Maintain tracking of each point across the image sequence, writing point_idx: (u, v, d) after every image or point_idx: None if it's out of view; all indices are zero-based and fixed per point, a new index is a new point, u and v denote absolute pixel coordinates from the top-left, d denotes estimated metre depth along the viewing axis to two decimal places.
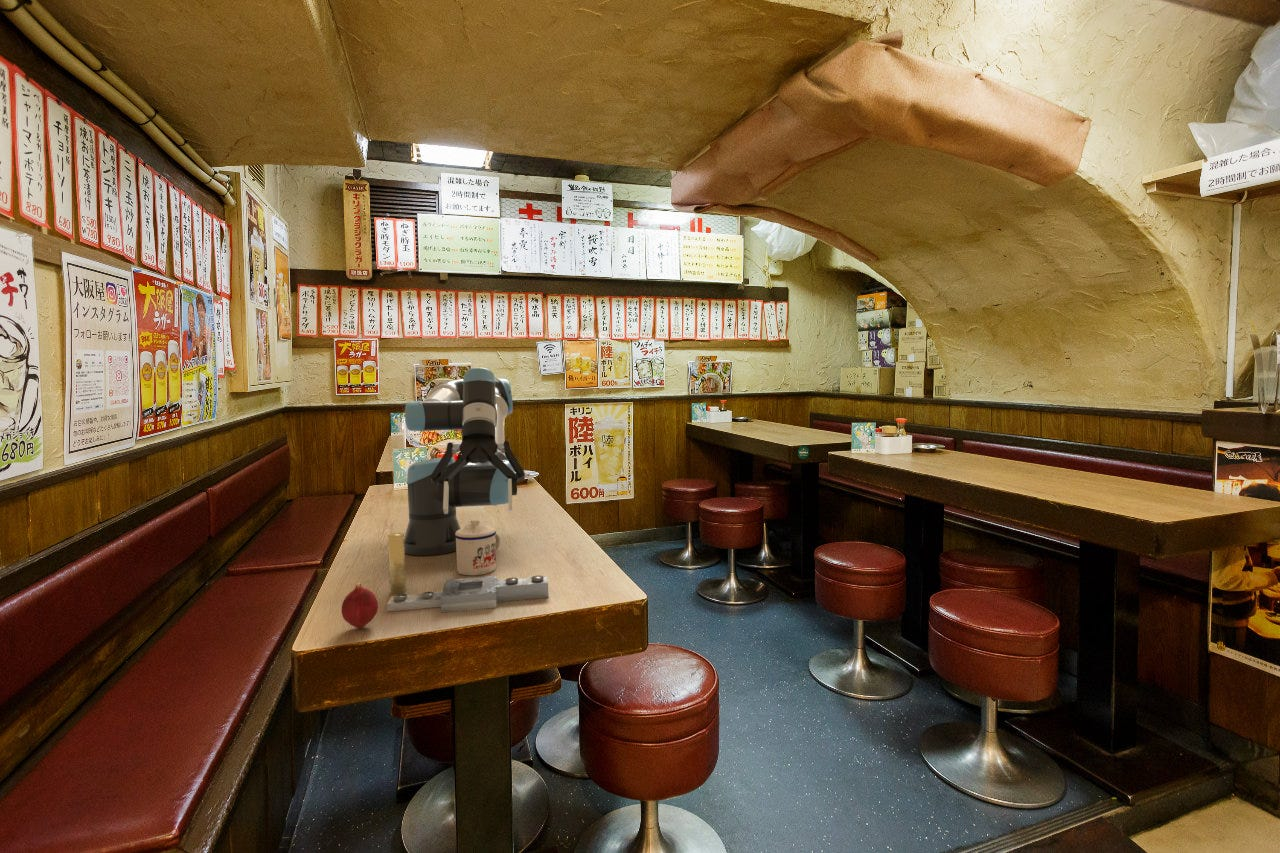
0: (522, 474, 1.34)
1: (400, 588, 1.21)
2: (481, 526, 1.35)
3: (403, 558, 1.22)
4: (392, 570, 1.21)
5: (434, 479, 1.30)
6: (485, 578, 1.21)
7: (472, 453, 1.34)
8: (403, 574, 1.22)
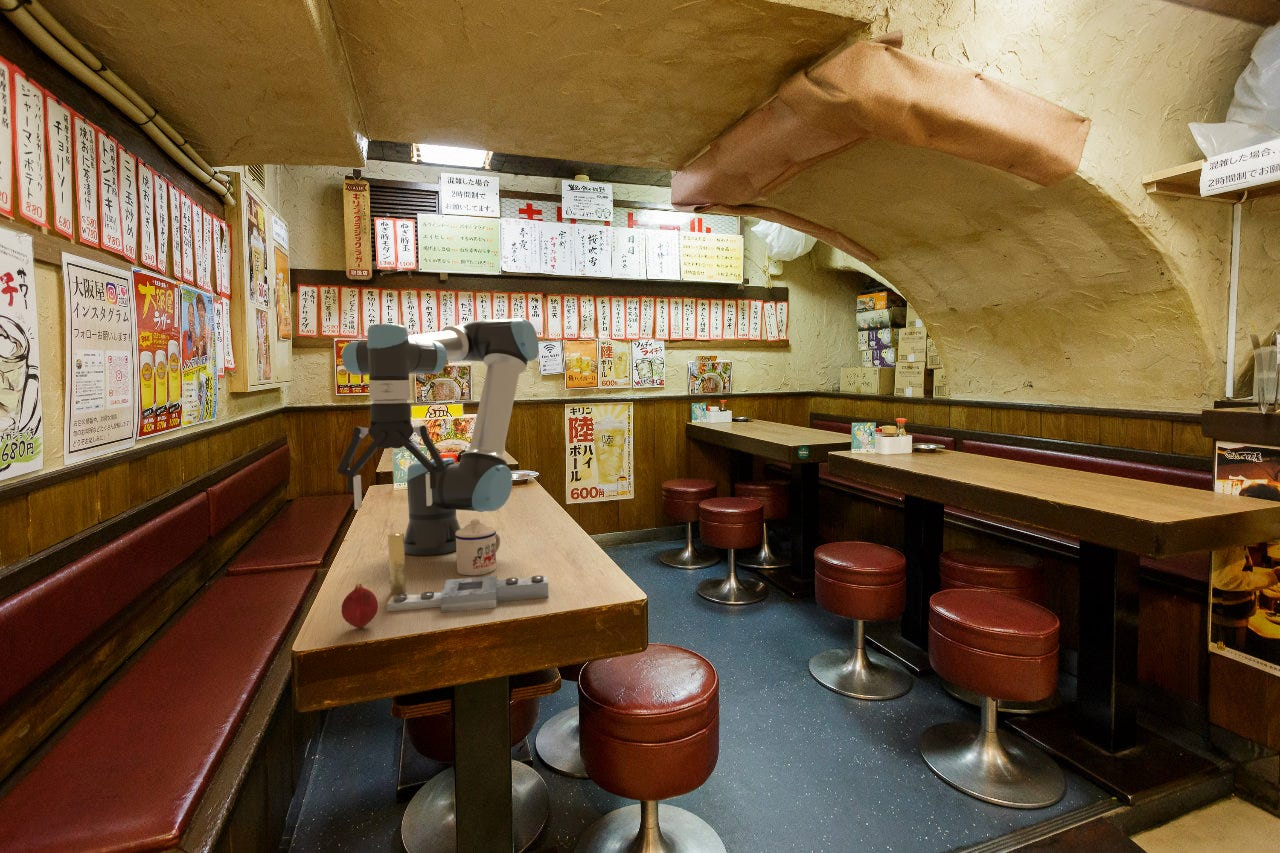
0: (441, 468, 1.21)
1: (400, 588, 1.21)
2: (481, 526, 1.35)
3: (403, 558, 1.22)
4: (392, 570, 1.21)
5: (342, 473, 1.18)
6: (485, 578, 1.21)
7: (383, 441, 1.19)
8: (403, 574, 1.22)
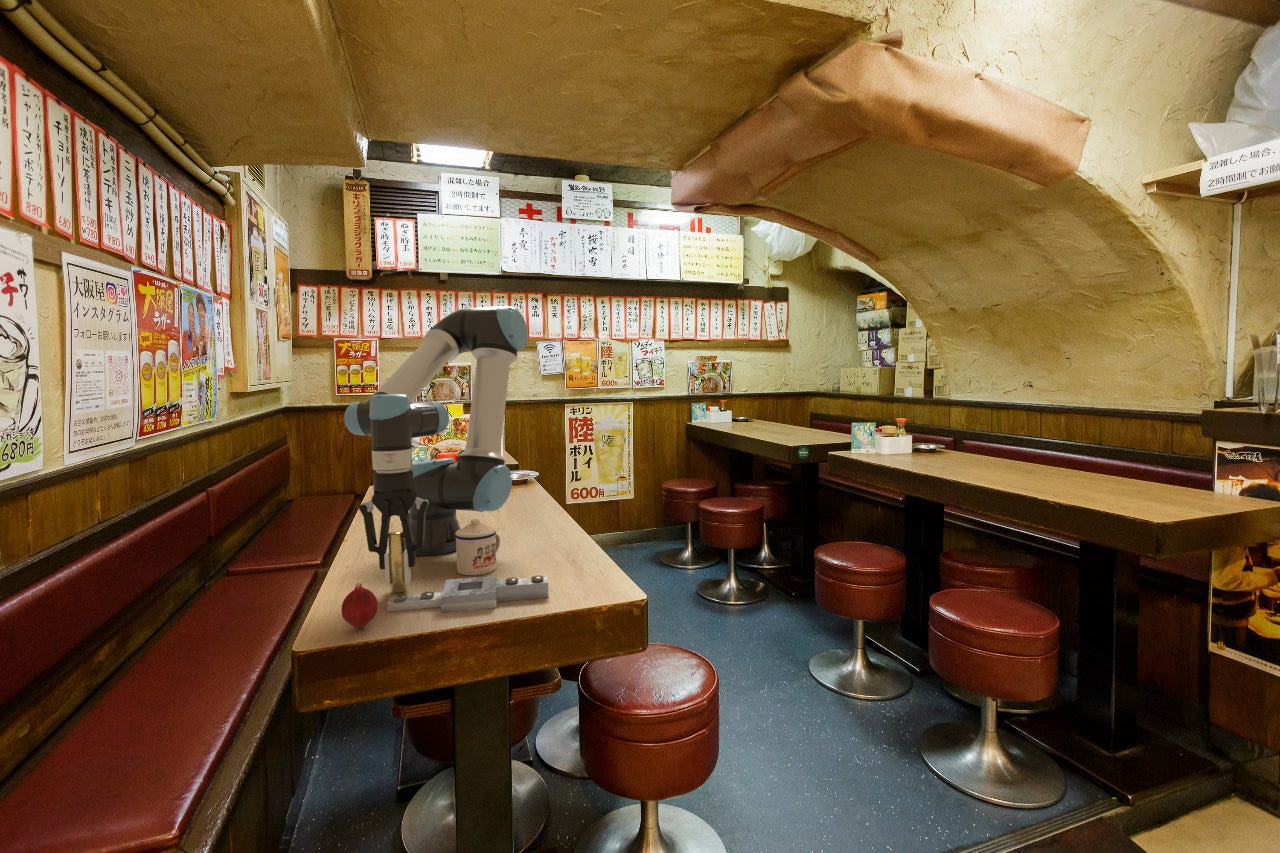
0: (418, 547, 1.22)
1: (401, 586, 1.21)
2: (481, 526, 1.35)
3: (403, 556, 1.22)
4: (392, 569, 1.21)
5: (373, 551, 1.20)
6: (485, 578, 1.21)
7: (390, 508, 1.20)
8: (403, 572, 1.22)
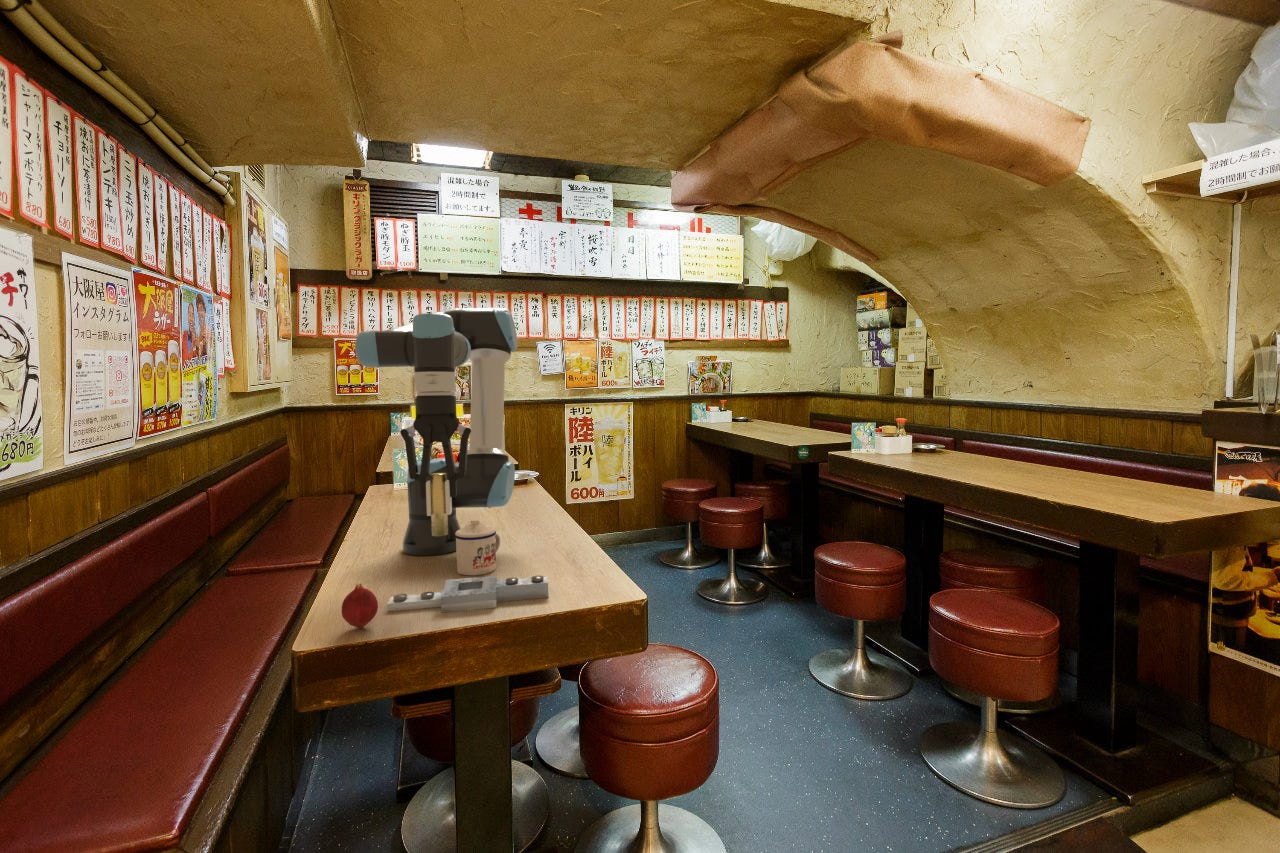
0: (460, 476, 1.16)
1: (442, 530, 1.16)
2: (481, 526, 1.35)
3: (445, 499, 1.16)
4: (434, 511, 1.15)
5: (414, 478, 1.15)
6: (485, 578, 1.21)
7: (433, 434, 1.15)
8: (445, 515, 1.16)
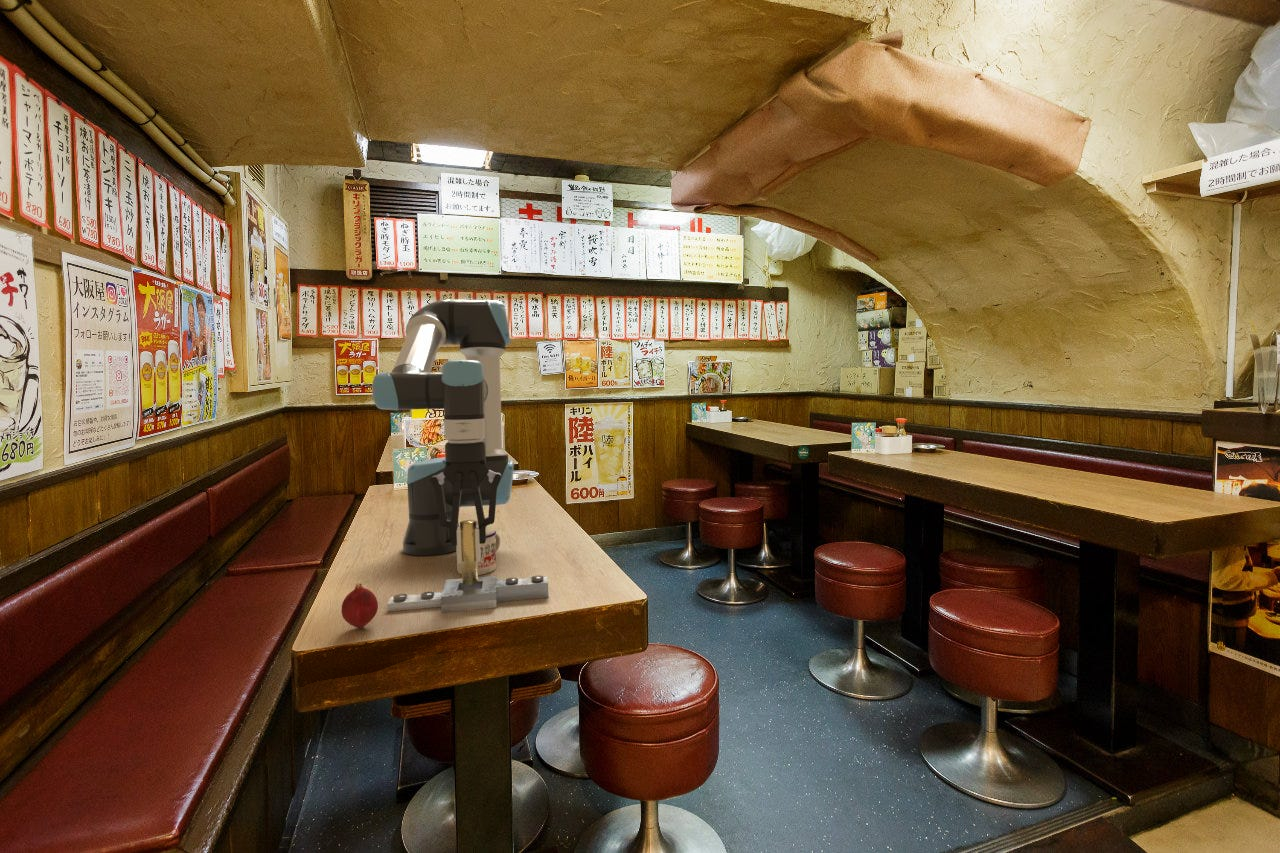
0: (490, 522, 1.15)
1: (473, 578, 1.15)
2: None
3: None
4: (465, 559, 1.15)
5: (445, 526, 1.14)
6: (485, 578, 1.21)
7: (463, 481, 1.14)
8: (476, 563, 1.16)
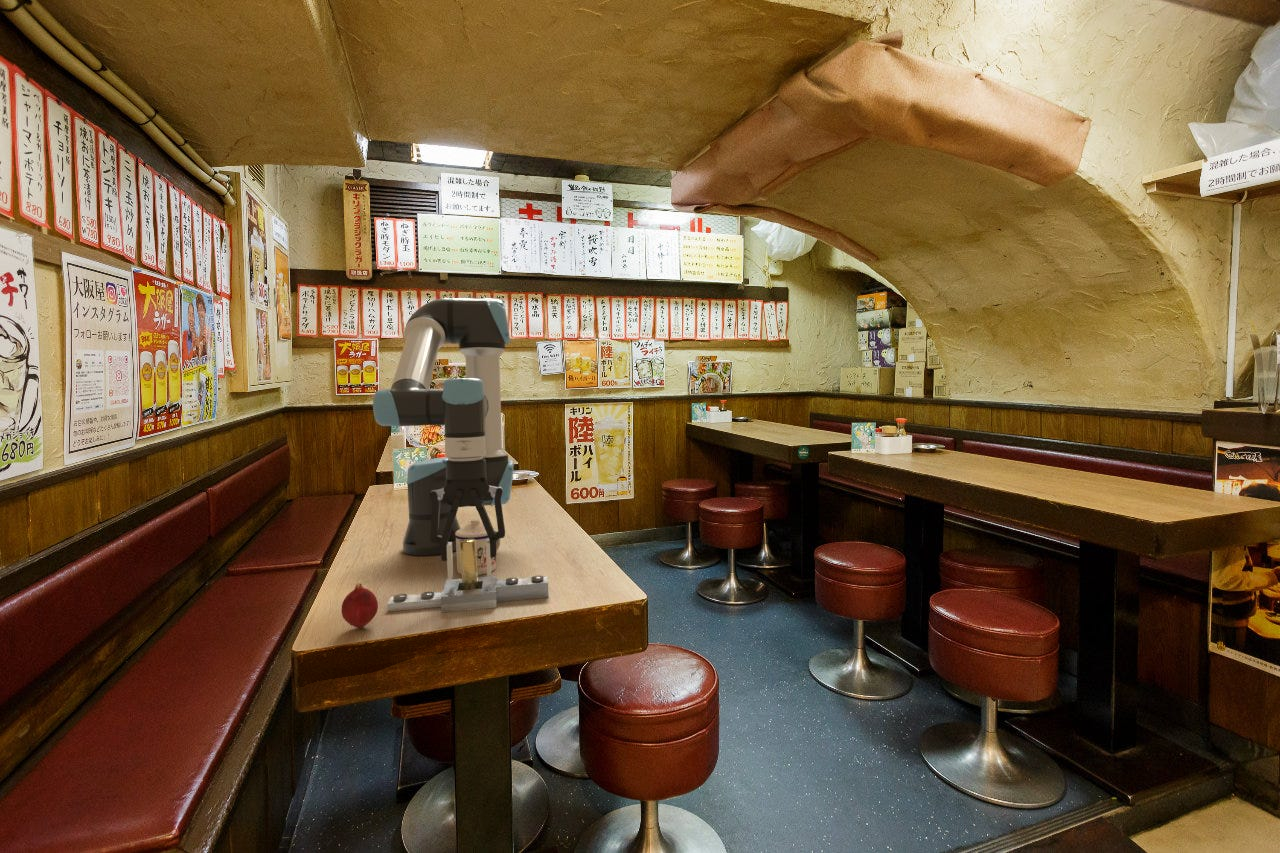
0: (501, 536, 1.16)
1: None
2: (481, 526, 1.35)
3: (476, 565, 1.16)
4: (465, 578, 1.15)
5: (435, 541, 1.14)
6: (485, 578, 1.21)
7: (462, 499, 1.14)
8: (476, 582, 1.16)
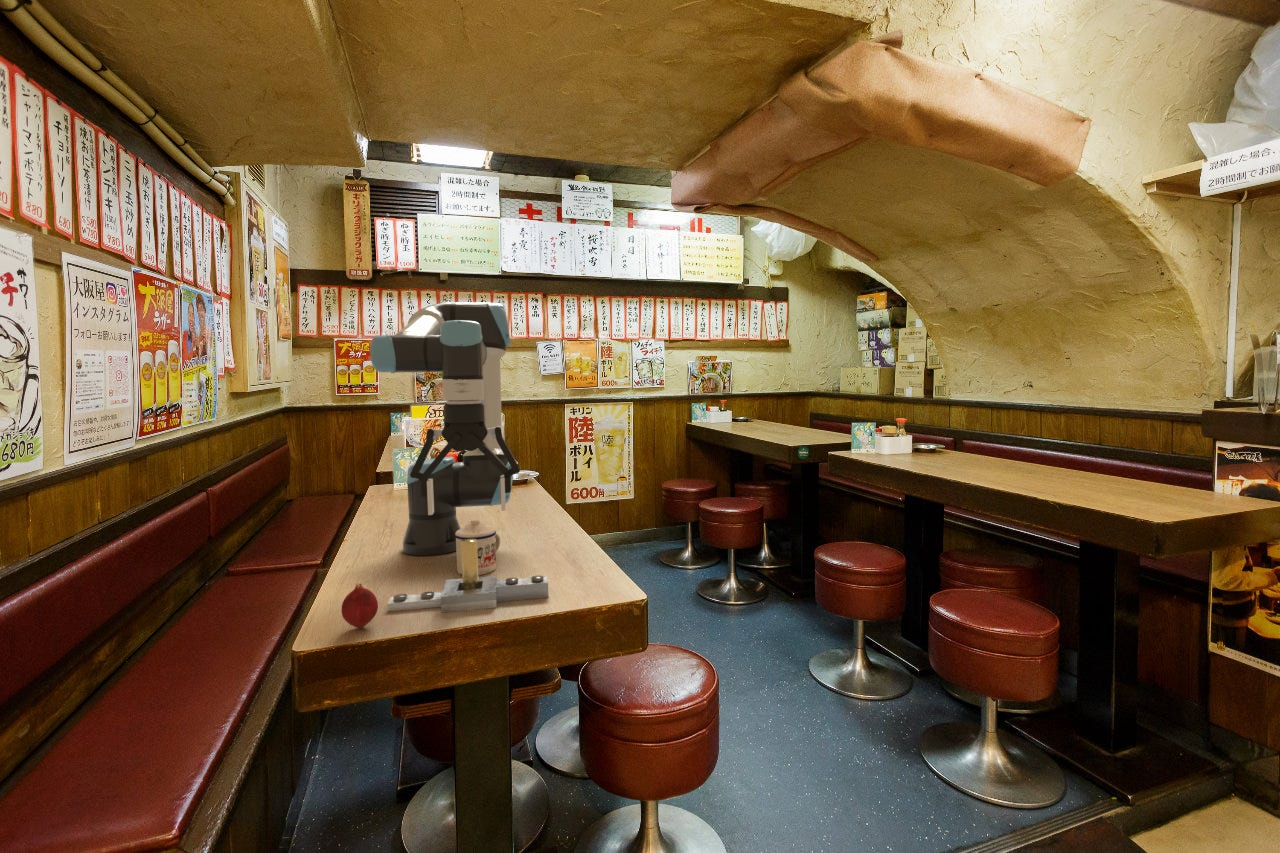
0: (517, 472, 1.16)
1: None
2: (481, 526, 1.35)
3: (477, 565, 1.16)
4: (466, 578, 1.15)
5: (415, 477, 1.12)
6: (485, 578, 1.21)
7: (457, 444, 1.13)
8: (477, 582, 1.16)
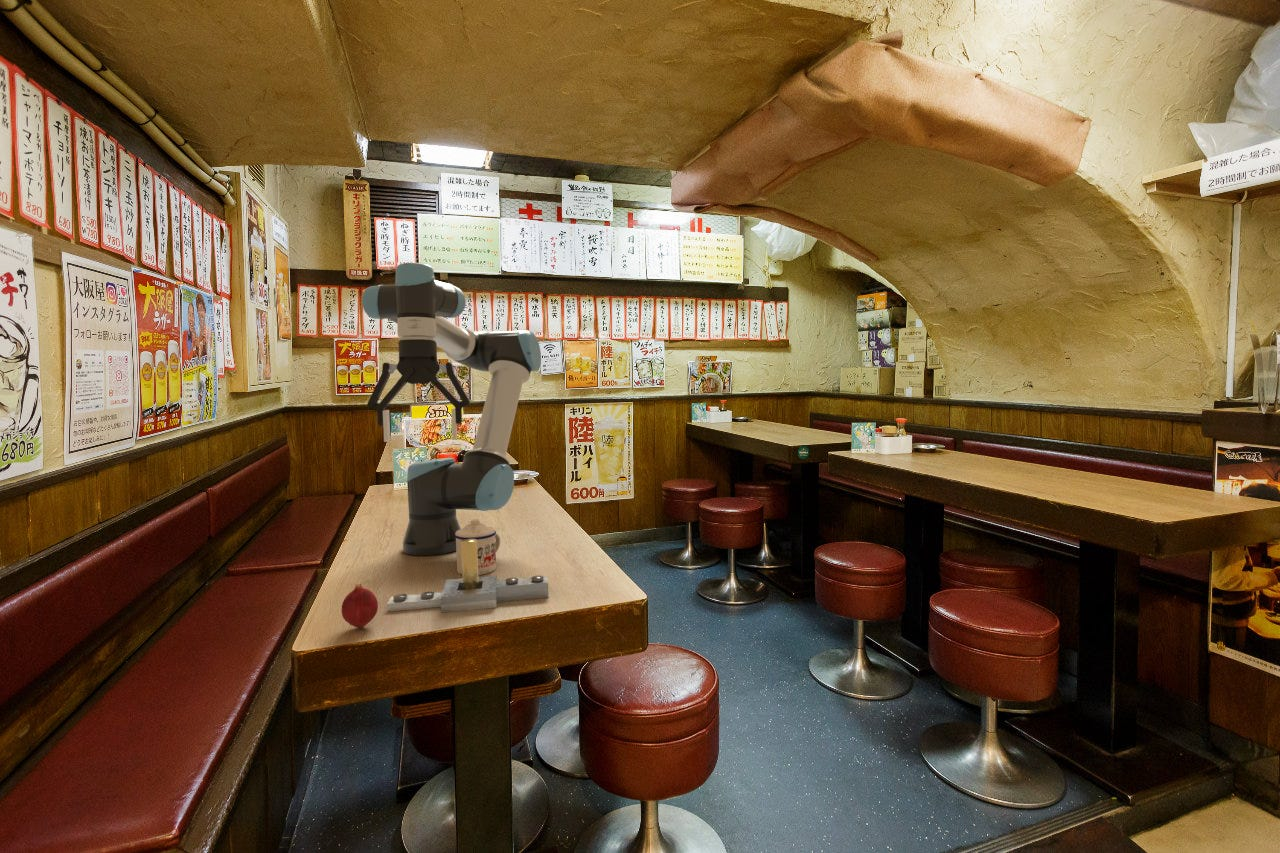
0: (466, 404, 1.26)
1: None
2: (481, 526, 1.35)
3: (477, 565, 1.16)
4: (466, 578, 1.15)
5: (372, 407, 1.23)
6: (485, 578, 1.21)
7: (411, 377, 1.24)
8: (477, 582, 1.16)
